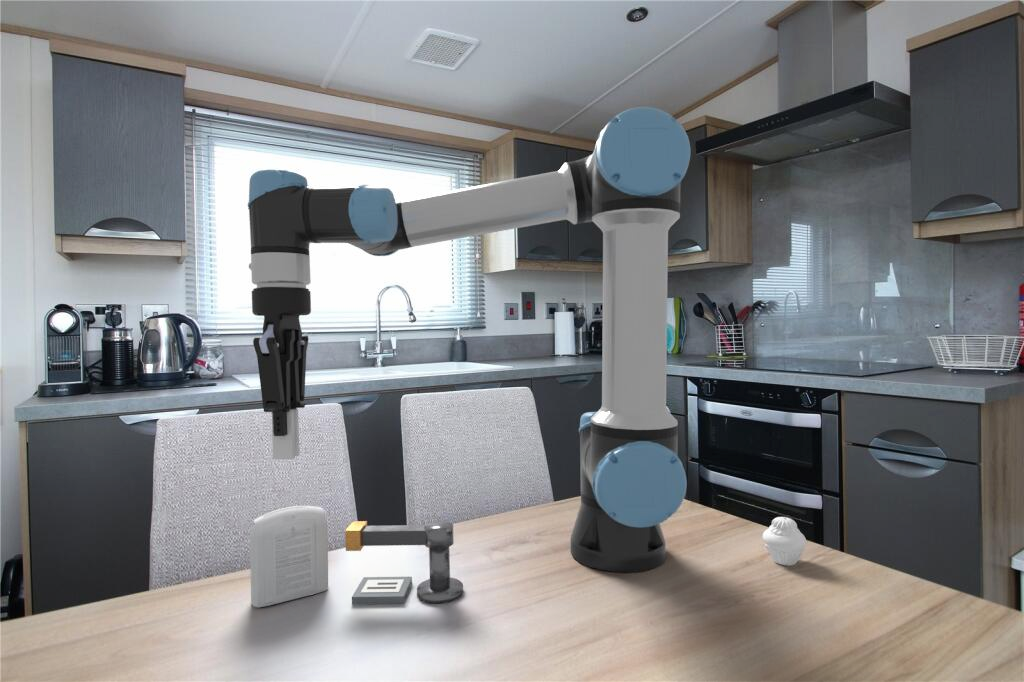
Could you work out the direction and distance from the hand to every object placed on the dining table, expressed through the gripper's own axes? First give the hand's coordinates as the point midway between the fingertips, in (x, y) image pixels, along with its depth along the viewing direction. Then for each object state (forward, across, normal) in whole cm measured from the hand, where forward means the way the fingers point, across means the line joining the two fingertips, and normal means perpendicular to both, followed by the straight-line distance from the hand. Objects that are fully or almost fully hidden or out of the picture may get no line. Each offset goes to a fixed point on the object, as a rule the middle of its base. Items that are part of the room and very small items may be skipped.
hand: (286, 456), depth 80 cm
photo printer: (+20, 0, 0) cm, 20 cm away
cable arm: (+13, 0, +16) cm, 20 cm away
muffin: (+20, -9, +73) cm, 76 cm away
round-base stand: (+19, 0, +21) cm, 29 cm away
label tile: (+19, 0, +13) cm, 23 cm away
